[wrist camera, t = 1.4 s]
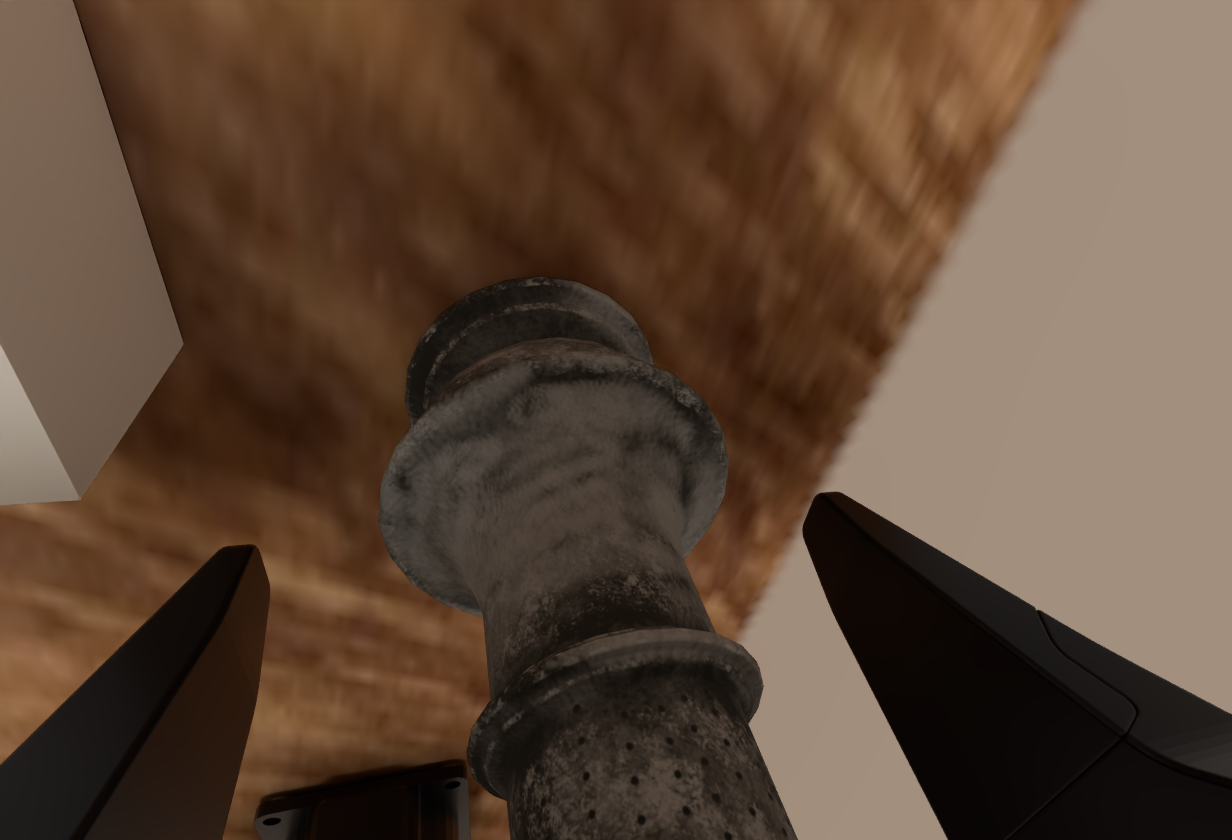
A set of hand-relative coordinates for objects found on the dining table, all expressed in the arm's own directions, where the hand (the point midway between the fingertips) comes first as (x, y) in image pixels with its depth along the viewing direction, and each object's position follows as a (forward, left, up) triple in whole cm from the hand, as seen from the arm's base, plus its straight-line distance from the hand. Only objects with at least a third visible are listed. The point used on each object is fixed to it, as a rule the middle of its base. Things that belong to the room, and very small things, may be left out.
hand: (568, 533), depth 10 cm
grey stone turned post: (0, 0, -4) cm, 4 cm away
